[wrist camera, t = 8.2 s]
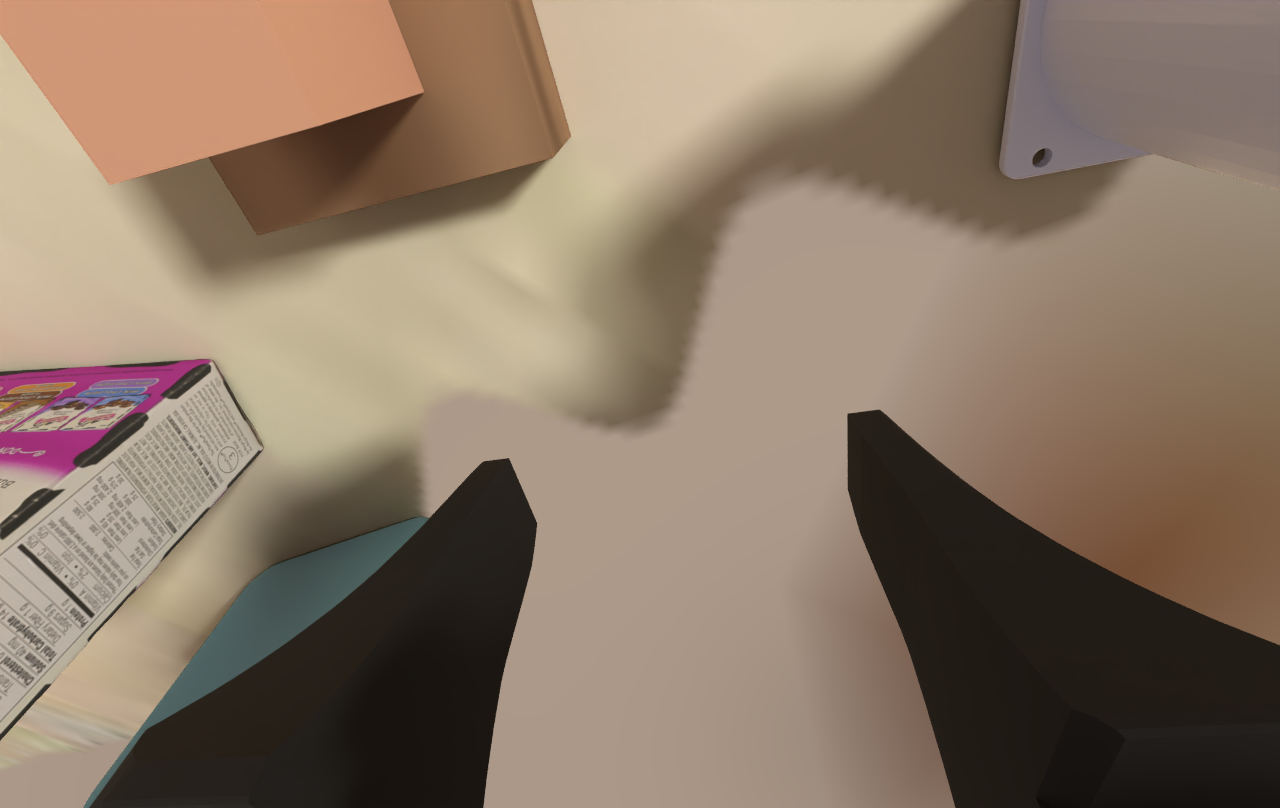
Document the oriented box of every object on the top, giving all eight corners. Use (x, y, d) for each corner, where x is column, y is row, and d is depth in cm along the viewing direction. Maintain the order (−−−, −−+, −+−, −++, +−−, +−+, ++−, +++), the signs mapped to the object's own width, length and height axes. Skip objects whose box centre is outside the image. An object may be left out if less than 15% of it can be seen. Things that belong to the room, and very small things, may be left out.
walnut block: (450, -295, 13) (384, -384, 10) (573, 133, 18) (552, 157, 15) (125, -156, 14) (-14, -197, 11) (320, 201, 19) (257, 235, 16)
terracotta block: (327, -154, 12) (134, -245, 7) (424, 92, 14) (319, 125, 10) (145, -85, 12) (-120, -132, 8) (267, 136, 15) (109, 184, 11)
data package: (317, 616, 32) (160, 884, 22) (257, 567, 30) (52, 841, 20) (494, 565, 29) (400, 853, 19) (441, 506, 27) (303, 797, 17)
